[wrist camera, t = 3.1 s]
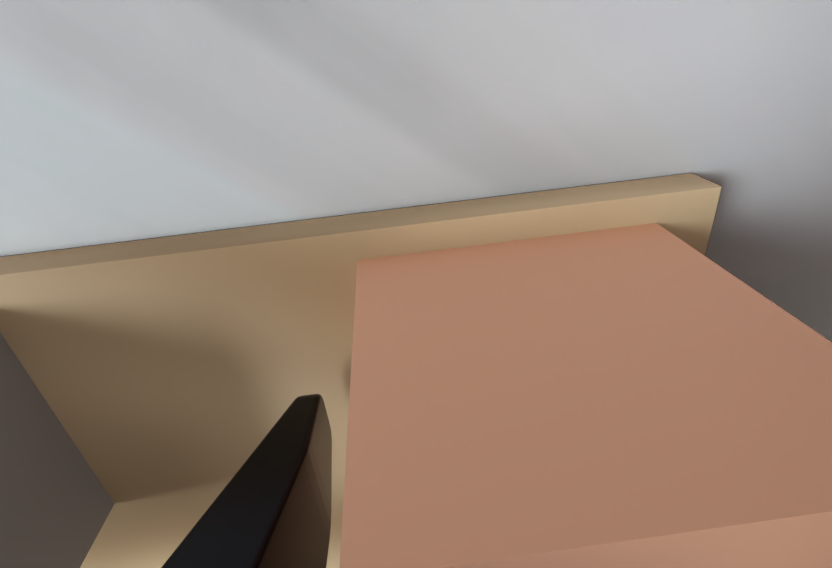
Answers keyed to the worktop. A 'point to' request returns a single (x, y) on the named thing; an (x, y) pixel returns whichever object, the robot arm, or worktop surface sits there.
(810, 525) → the terracotta block
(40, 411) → the grey block
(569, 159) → the worktop surface
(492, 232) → the oak board
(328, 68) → the worktop surface
